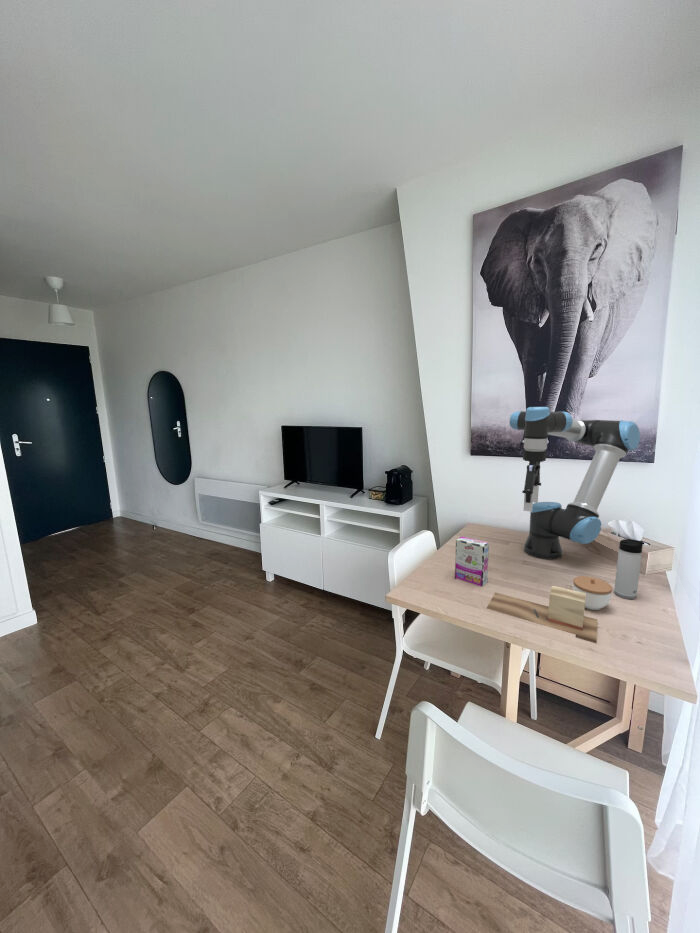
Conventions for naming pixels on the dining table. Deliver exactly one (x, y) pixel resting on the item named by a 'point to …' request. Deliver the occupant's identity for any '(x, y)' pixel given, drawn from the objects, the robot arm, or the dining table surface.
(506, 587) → the dining table surface
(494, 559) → the dining table surface
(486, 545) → the candy bar box
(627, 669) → the dining table surface
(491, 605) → the board
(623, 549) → the travel mug
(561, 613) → the block
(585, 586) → the lidded jar
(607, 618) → the dining table surface
